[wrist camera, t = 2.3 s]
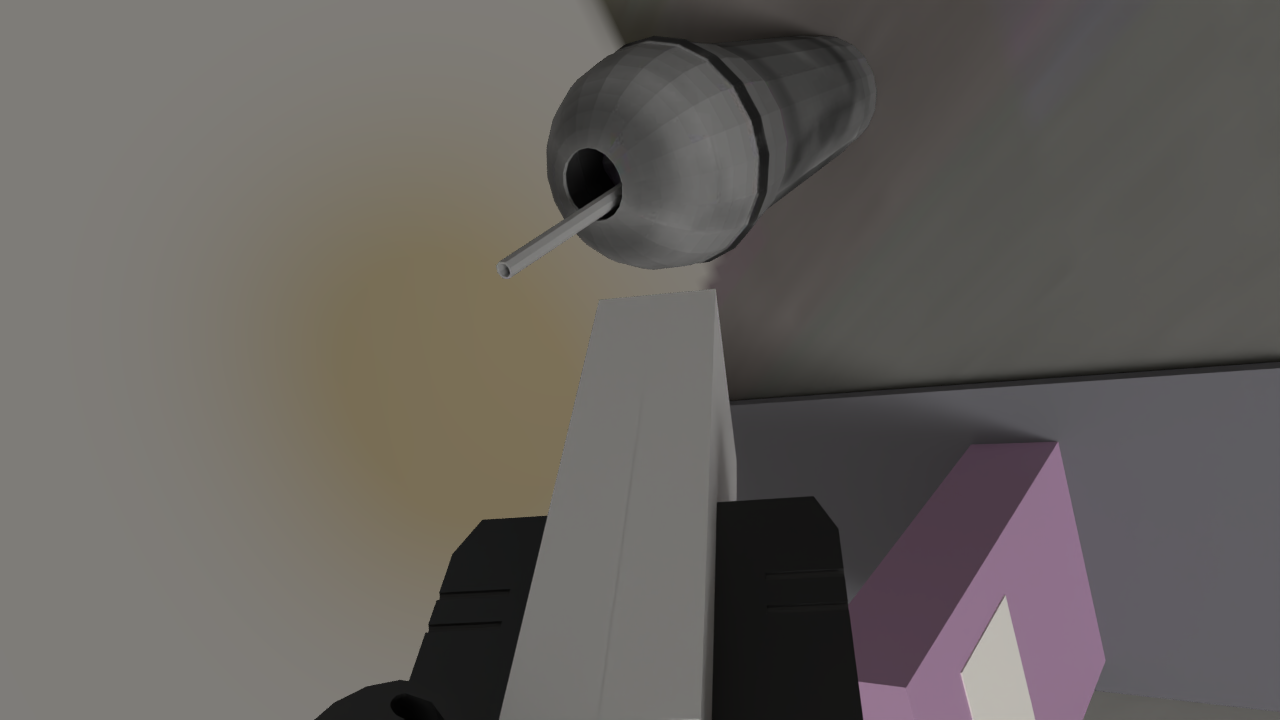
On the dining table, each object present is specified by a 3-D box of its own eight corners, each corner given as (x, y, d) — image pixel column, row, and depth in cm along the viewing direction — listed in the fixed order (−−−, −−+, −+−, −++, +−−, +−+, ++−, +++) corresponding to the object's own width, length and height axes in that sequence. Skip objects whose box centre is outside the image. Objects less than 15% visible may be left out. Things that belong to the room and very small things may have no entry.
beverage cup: (874, -35, 38) (522, 33, 23) (937, 151, 39) (642, 329, 24) (719, 41, 42) (346, 138, 28) (780, 204, 44) (454, 381, 29)
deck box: (1059, 441, 40) (908, 688, 28) (1106, 660, 42) (985, 974, 30) (969, 444, 42) (794, 673, 30) (1019, 652, 44) (874, 940, 32)
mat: (700, 638, 57) (694, 644, 56) (626, 408, 53) (619, 413, 53) (1353, 710, 38) (1352, 720, 37) (1300, 360, 34) (1298, 366, 34)
